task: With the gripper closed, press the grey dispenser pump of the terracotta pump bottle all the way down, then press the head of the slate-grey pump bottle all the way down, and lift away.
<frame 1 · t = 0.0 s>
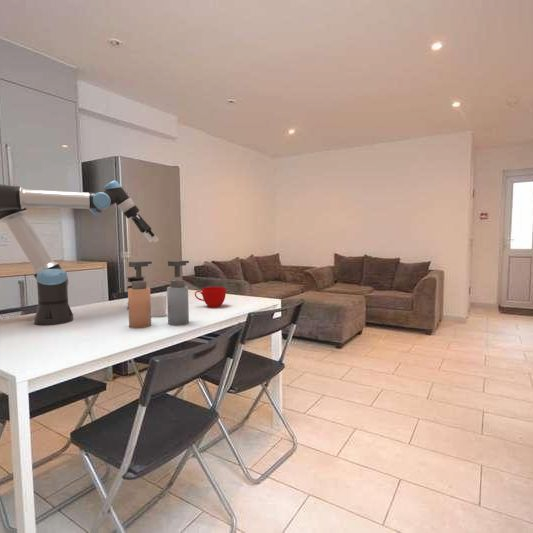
hand: (154, 241, 194), 36 cm above the table, tool tilted 35°, fingers open, 13 cm apart
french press: (137, 308, 193), on the table
slate pump bottle: (178, 322, 158), on the table
grey dispenser pump: (141, 269, 154), point 24 cm above the table, slide at 0.0 cm
terracotta pump bottle: (140, 325, 154), on the table
slate pump head: (180, 268, 158), point 24 cm above the table, slide at 0.0 cm
ceramic cup: (210, 306, 197), on the table
white cup: (158, 315, 174), on the table
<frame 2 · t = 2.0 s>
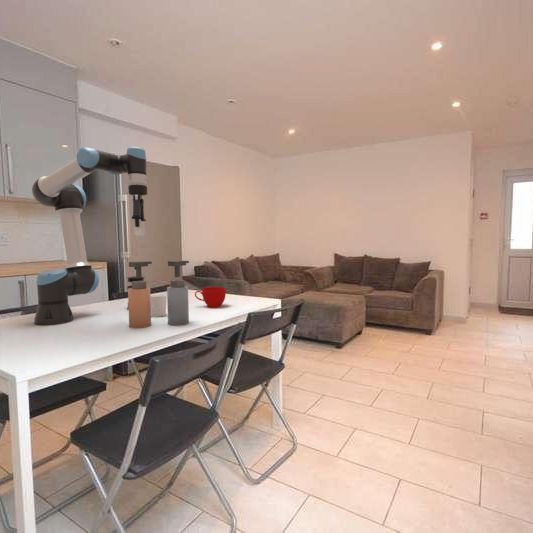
hand: (139, 235, 153), 39 cm above the table, tool pointing down, fingers open, 13 cm apart
nothing on the table moved.
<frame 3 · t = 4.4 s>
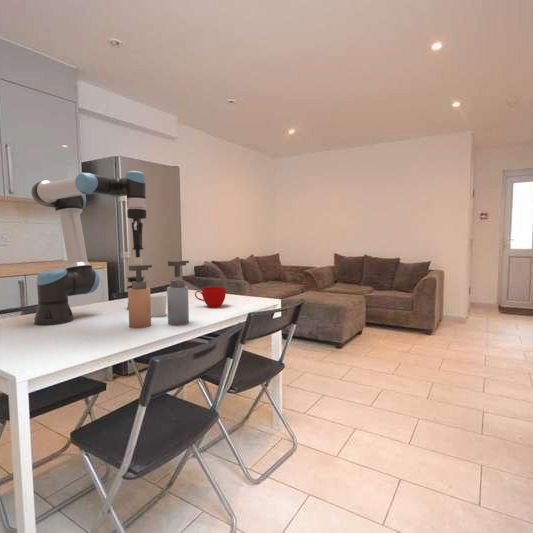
hand: (138, 264, 152), 26 cm above the table, tool pointing down, fingers closed
grey dispenser pump: (141, 273, 154), point 22 cm above the table, slide at 1.6 cm, touching gripper
everything else where it was.
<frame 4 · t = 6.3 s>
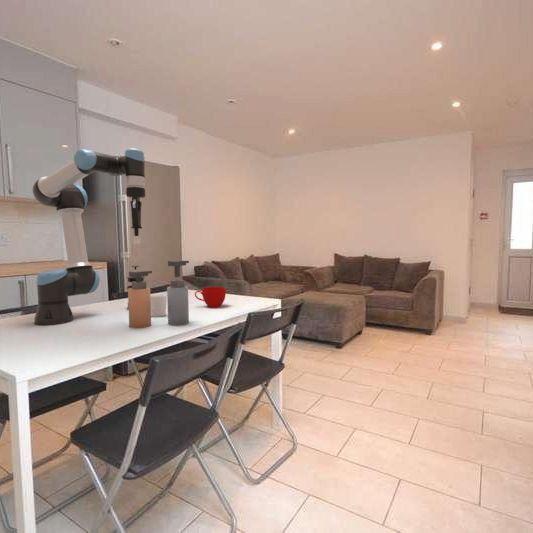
hand: (137, 243, 152), 35 cm above the table, tool pointing down, fingers closed
grey dispenser pump: (142, 279, 154), point 20 cm above the table, slide at 4.1 cm
everything else where it was.
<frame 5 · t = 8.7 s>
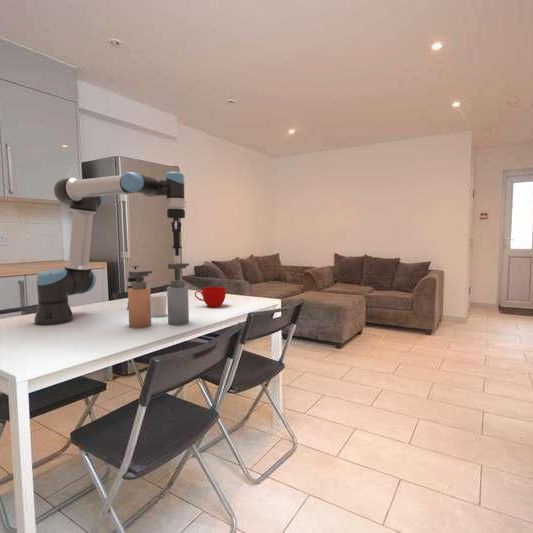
hand: (177, 263, 156), 27 cm above the table, tool pointing down, fingers closed
slate pump head: (180, 271, 158), point 23 cm above the table, slide at 1.2 cm, touching gripper
everything else where it was.
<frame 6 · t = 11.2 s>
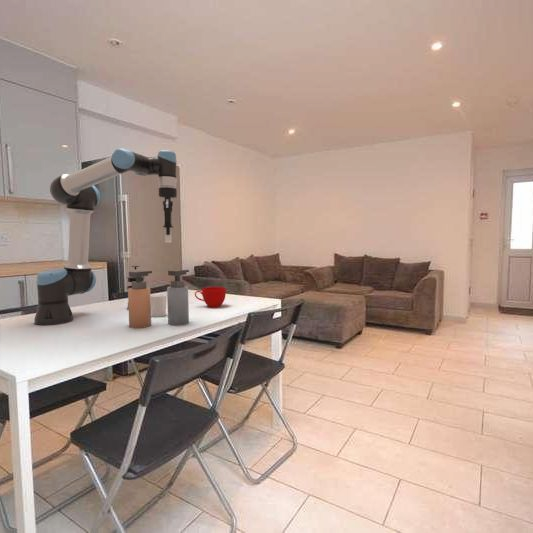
hand: (168, 242, 156), 36 cm above the table, tool pointing down, fingers closed
slate pump head: (180, 278, 158), point 20 cm above the table, slide at 4.1 cm
everything else where it was.
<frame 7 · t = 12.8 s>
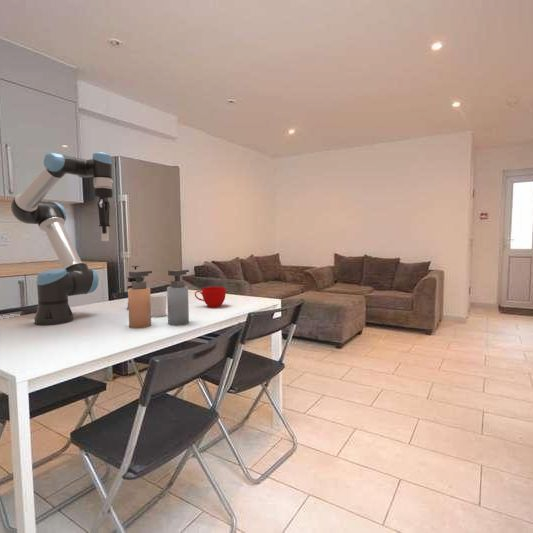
hand: (105, 240, 162), 36 cm above the table, tool pointing down, fingers closed
nothing on the table moved.
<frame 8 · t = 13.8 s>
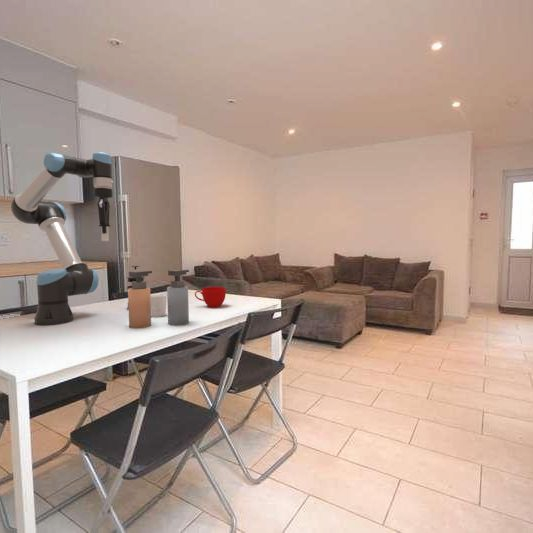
hand: (105, 240, 162), 36 cm above the table, tool pointing down, fingers closed
nothing on the table moved.
at the end: grey dispenser pump slide at 4.1 cm; slate pump head slide at 4.1 cm; white cup moved 0.2 cm from its start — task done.
